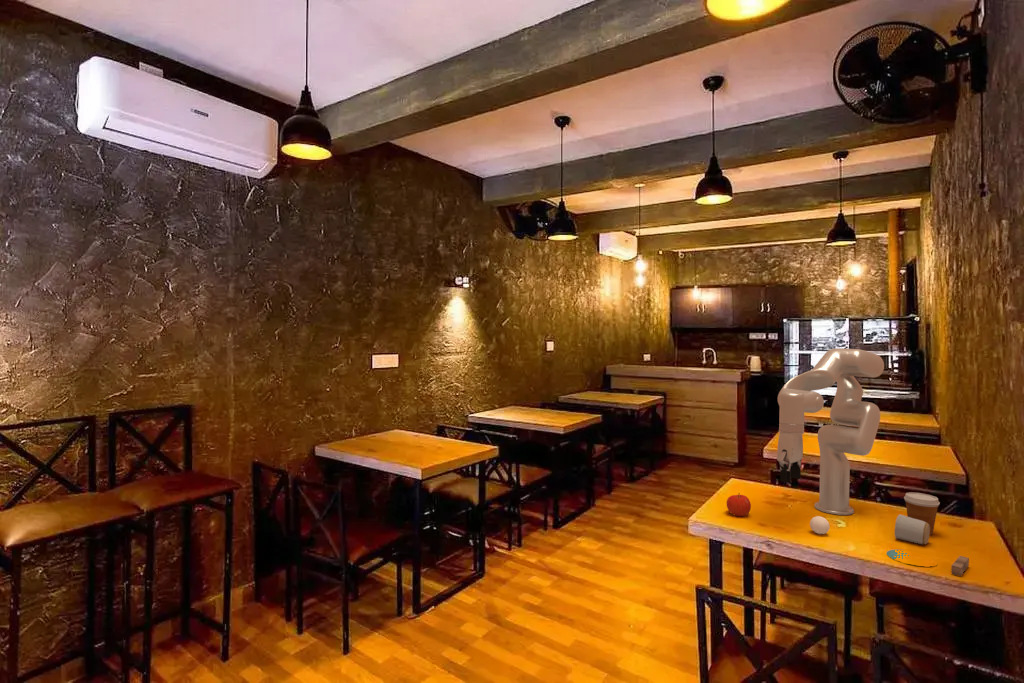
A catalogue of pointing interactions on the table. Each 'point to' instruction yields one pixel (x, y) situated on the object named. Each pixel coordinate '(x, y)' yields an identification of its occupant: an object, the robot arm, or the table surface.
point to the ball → (819, 525)
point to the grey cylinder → (912, 530)
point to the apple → (738, 505)
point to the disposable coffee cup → (922, 508)
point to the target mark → (894, 554)
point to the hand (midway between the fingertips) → (790, 479)
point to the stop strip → (960, 565)
